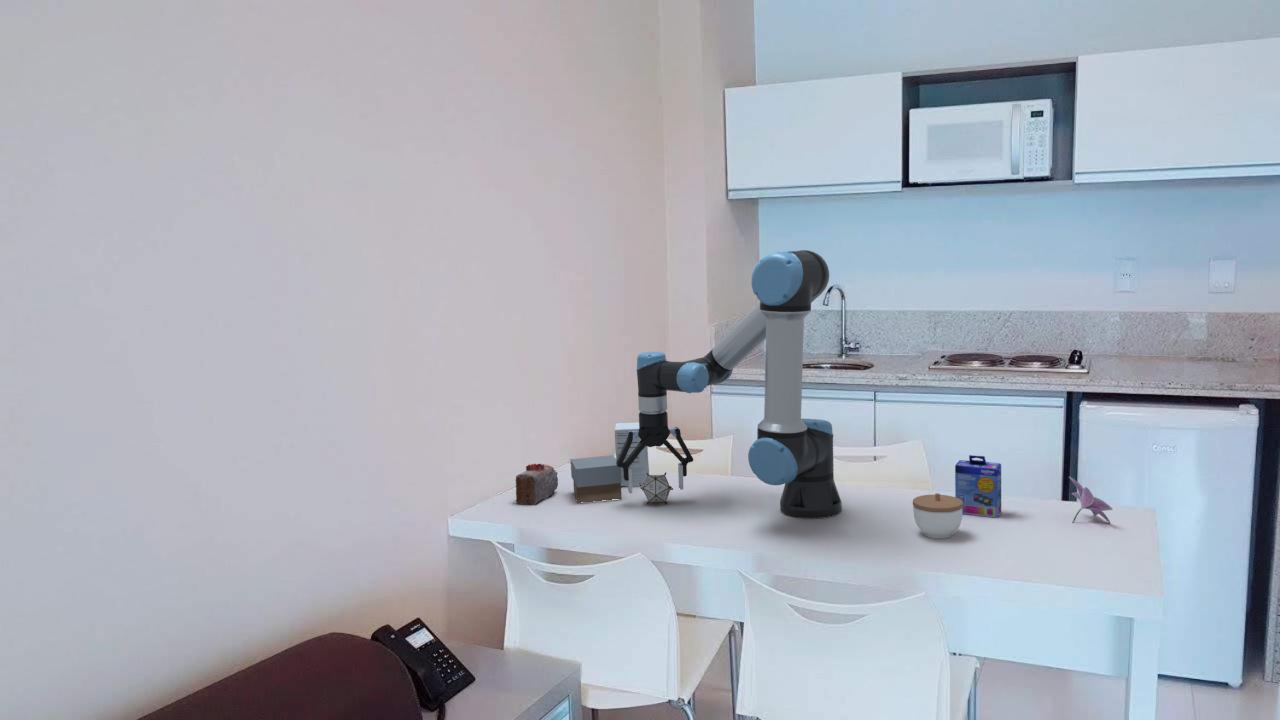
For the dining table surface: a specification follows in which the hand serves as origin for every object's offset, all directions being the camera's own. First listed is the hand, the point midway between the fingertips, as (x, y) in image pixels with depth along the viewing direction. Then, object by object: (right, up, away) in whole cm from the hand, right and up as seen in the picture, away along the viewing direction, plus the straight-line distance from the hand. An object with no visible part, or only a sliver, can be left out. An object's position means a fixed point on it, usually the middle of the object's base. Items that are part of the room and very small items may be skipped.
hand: (655, 490), depth 240 cm
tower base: (-16, -3, +10) cm, 19 cm away
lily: (+99, -3, -32) cm, 104 cm away
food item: (-32, -4, +11) cm, 34 cm away
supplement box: (-6, -1, +22) cm, 23 cm away
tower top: (-16, +2, +9) cm, 19 cm away
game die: (0, -4, 0) cm, 4 cm away
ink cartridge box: (+77, -3, -22) cm, 80 cm away
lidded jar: (+63, -5, -36) cm, 72 cm away
